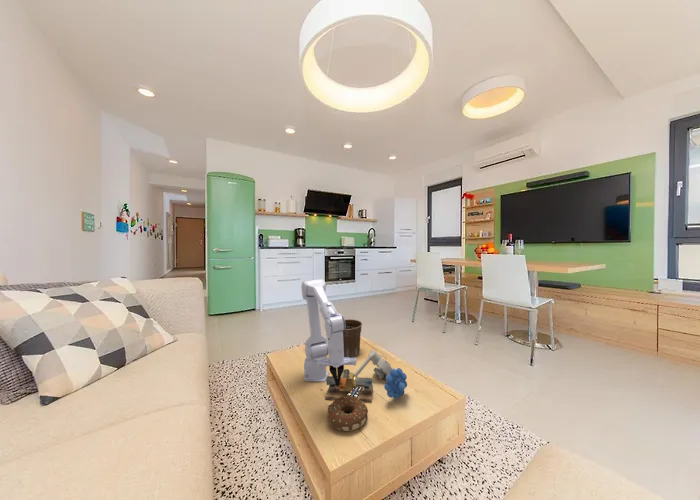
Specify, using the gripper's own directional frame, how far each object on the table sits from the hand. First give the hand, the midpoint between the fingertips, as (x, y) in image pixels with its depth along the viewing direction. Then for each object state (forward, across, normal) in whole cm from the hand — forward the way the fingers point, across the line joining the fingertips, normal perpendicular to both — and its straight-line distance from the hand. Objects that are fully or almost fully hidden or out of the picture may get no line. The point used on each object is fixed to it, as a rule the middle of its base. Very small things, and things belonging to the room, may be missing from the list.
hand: (337, 384), depth 94 cm
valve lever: (0, +3, +2) cm, 3 cm away
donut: (+8, +3, -8) cm, 12 cm away
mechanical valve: (+8, +14, +15) cm, 22 cm away
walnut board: (+8, +4, +6) cm, 11 cm away
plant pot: (+8, +5, +42) cm, 43 cm away
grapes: (+8, +23, +1) cm, 24 cm away
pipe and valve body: (+7, +4, +6) cm, 10 cm away
